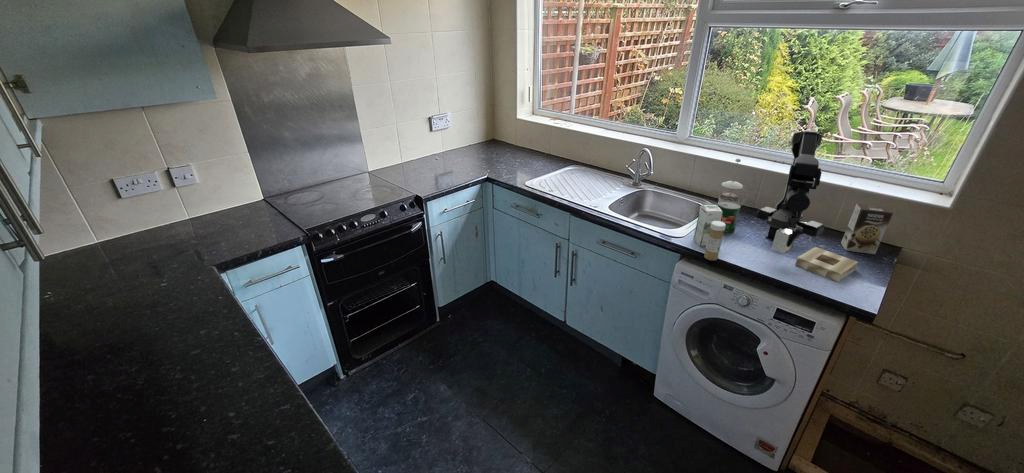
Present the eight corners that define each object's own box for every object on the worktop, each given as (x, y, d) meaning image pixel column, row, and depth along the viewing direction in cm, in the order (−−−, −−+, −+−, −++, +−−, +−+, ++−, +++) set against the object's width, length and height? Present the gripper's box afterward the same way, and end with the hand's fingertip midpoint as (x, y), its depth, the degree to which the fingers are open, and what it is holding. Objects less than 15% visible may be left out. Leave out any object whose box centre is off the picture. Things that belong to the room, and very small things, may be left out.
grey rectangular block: (771, 248, 146) (776, 230, 143) (777, 245, 148) (782, 227, 145) (783, 253, 143) (789, 234, 140) (789, 250, 145) (795, 231, 142)
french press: (709, 210, 189) (722, 154, 177) (738, 211, 187) (752, 155, 176) (716, 220, 180) (729, 161, 169) (745, 221, 179) (760, 162, 167)
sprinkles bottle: (710, 253, 154) (717, 219, 148) (720, 259, 151) (729, 224, 145) (700, 256, 153) (708, 221, 147) (711, 262, 149) (719, 227, 143)
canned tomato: (731, 226, 174) (737, 201, 169) (736, 235, 167) (743, 209, 162) (710, 225, 175) (716, 200, 170) (715, 234, 168) (721, 208, 163)
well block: (794, 265, 147) (797, 257, 145) (812, 254, 153) (815, 246, 152) (838, 282, 137) (841, 274, 136) (855, 269, 144) (858, 261, 142)
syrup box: (708, 239, 164) (715, 204, 158) (714, 246, 159) (723, 210, 152) (693, 239, 164) (700, 204, 158) (699, 247, 159) (707, 210, 152)
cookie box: (845, 250, 155) (861, 209, 148) (840, 243, 161) (855, 202, 154) (876, 254, 153) (893, 213, 145) (869, 246, 158) (886, 206, 151)
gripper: (753, 197, 141) (741, 240, 148) (815, 216, 127) (799, 262, 134) (770, 190, 146) (759, 231, 153) (832, 207, 133) (816, 252, 140)
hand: (781, 244), depth 145 cm, fingers closed on grey rectangular block, 4 cm apart
